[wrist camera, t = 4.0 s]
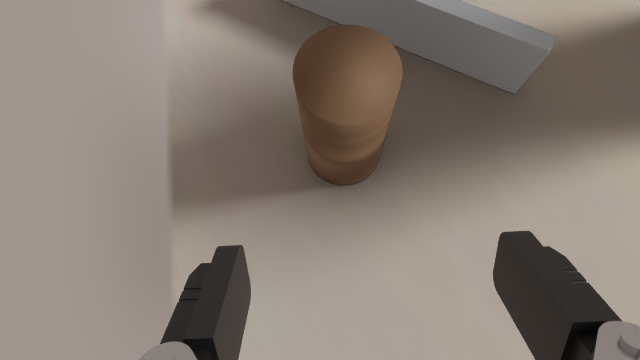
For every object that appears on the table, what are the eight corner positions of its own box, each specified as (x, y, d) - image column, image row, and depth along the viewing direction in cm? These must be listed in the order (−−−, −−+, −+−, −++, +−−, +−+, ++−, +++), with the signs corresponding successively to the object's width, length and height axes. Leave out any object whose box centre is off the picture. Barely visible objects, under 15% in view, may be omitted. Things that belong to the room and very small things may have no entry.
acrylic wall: (520, 81, 28) (557, 36, 24) (514, 94, 28) (551, 51, 23) (280, -15, 32) (270, -70, 27) (273, -4, 32) (262, -58, 27)
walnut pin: (391, 136, 28) (420, 48, 18) (360, 197, 26) (373, 138, 17) (328, 108, 28) (323, 9, 19) (295, 166, 27) (272, 92, 18)
